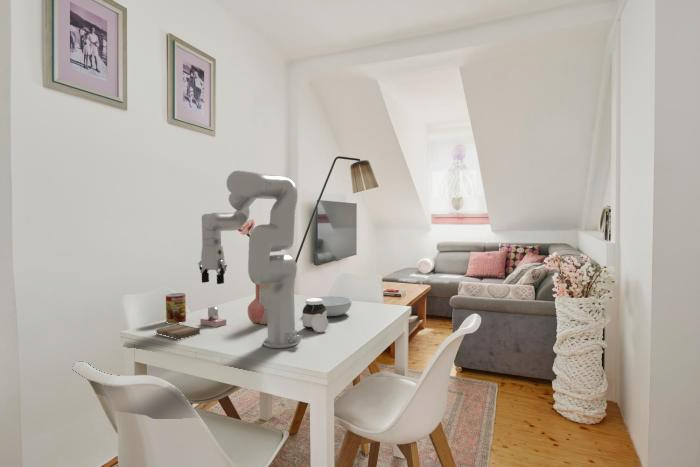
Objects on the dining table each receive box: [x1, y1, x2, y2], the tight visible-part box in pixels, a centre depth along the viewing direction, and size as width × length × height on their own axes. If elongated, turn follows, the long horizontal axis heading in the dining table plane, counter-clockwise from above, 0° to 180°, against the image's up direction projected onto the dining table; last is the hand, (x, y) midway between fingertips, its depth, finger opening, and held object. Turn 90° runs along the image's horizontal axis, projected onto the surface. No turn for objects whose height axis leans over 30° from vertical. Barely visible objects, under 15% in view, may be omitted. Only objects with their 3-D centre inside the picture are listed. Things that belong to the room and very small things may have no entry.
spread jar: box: [301, 297, 329, 333], centre depth 155 cm, size 12×11×12 cm
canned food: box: [165, 292, 187, 324], centre depth 171 cm, size 8×8×12 cm
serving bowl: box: [314, 295, 352, 317], centre depth 180 cm, size 21×21×7 cm
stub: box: [199, 306, 227, 328], centre depth 165 cm, size 10×5×7 cm, turn 58°
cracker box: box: [258, 283, 271, 326], centre depth 169 cm, size 14×6×21 cm, turn 164°
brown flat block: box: [155, 323, 201, 340], centre depth 151 cm, size 14×9×2 cm, turn 58°
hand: (212, 282), depth 164 cm, fingers open, 9 cm apart
